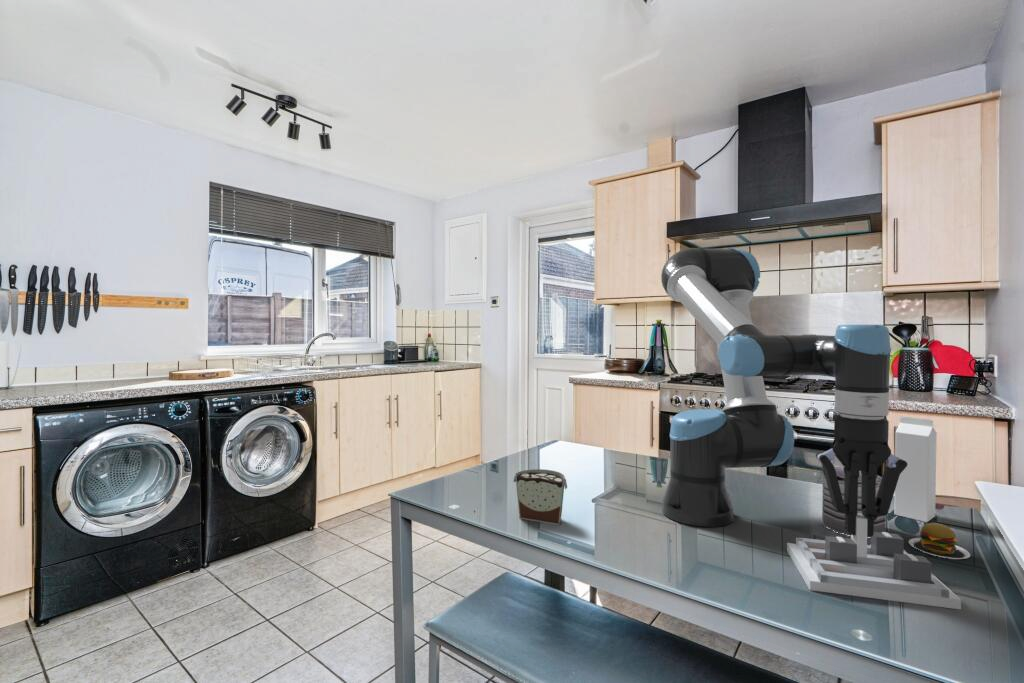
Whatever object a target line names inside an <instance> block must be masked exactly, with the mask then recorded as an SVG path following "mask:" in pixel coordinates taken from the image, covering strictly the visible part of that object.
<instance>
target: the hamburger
mask: <svg viewBox="0 0 1024 683" xmlns="http://www.w3.org/2000/svg"><path fill="white" fill-rule="evenodd" d="M918 532H920V533H919V534H920V535H919V537H915V538H914V537H913V538H911V539H910V538H909V540H908V544H909V545H910V546H911V547H912V548H913V549H915V550H917V549H918V551H919V550H920V551H919V552H921V551H922V552H921V553H924V554H926V553H927V554H926V555H929V554H930V555H929V556H932V555H933V557H936V556H938V557H937V558H941V557H942V559H946V558H948V559H947V560H963V559H969V558H970V557H971V553H970V552H969V551H968V550H967V549H965V548H964V547H961V546H959V545H958V540H957V538H956V533H955V531H954V530H952V528H950V527H949V526H947V525H945V524H942V523H939V522H938V523H937V522H927V523H925V524H924V525H922V526H921V529H920V530H919V531H918ZM915 541H920V542H919V543H921V546H922V547H923V549H925V550H926V549H927V551H928V550H929V552H927V551H924V550H923V549H922V550H921V549H919V548H917V547H916V546H915V545H914V546H915V547H914V546H913V543H914V542H915ZM958 550H959V551H958ZM931 551H932V552H931ZM956 551H958V552H960V553H962V555H963V557H949V556H944V555H945V554H949V555H954V553H955V552H956ZM930 552H931V553H930ZM934 552H935V554H934ZM938 553H939V554H938ZM942 555H943V556H942Z"/></svg>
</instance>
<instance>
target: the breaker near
mask: <svg viewBox="0 0 1024 683" xmlns="http://www.w3.org/2000/svg"><path fill="white" fill-rule="evenodd" d="M931 573H932V562H931V561H930V560H928V559H927V558H926V557H925V556H922V555H916V554H915V555H914V554H911V553H908V554H896V553H894V571H893V578H894V579H895V580H903V581H911V582H920V583H928V584H931Z"/></svg>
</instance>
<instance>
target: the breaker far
mask: <svg viewBox="0 0 1024 683" xmlns="http://www.w3.org/2000/svg"><path fill="white" fill-rule="evenodd" d="M904 544H905V539H904V538H902V537H901V535H899V534H897V533H892V532H891V533H889V532H882V533H880V532H874V534H873V536H872V537H871V539H870V545H871V555H878V556H888V557H894V553H896V554H904V550H905V549H904Z"/></svg>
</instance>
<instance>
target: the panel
mask: <svg viewBox="0 0 1024 683" xmlns="http://www.w3.org/2000/svg"><path fill="white" fill-rule="evenodd" d="M786 551H787V553H788V555H789V556H790V558H791V560H792V562H793V564H794V565H795V567H796V568H797V570H798V572H799V574H800V576H801V577H802V578H803V581H804V583H805V584H806V586H807V587H808V589H809V590H810V591H813V592H820V593H821V592H822V593H828V594H829V593H830V594H838V595H847V596H853V597H862V598H867V599H868V598H869V599H877V600H884V601H892V602H899V603H900V602H901V603H907V604H914V605H923V606H930V607H940V608H947V609H953V610H954V609H955V610H962V598H960V597H959V596H958V595H957V594H956V593H954V592H953V591H952V590H951V589H950V588H949V587H947V586H946V584H944V582H942V581H941V580H940V579H938V578H937V577H936V575H934V574H933V573H932V572H931V584H928V583H920V582H911V581H903V580H895V579H894V578H893V571H894V557H888V556H878V555H871V544H867V558H865V557H857V564H856V563H847V562H838V561H829V560H825V539H814V538H806V537H805V538H804V537H795V543H793V542H792V543H791V542H786ZM904 554H909V552H907V551H906V550H905V549H904Z"/></svg>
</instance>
